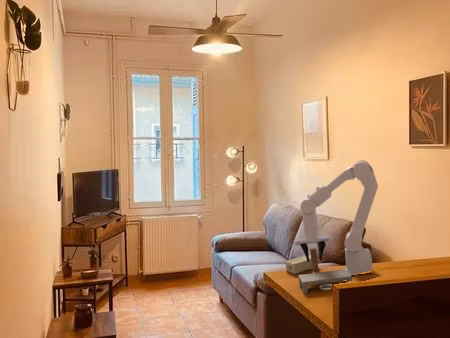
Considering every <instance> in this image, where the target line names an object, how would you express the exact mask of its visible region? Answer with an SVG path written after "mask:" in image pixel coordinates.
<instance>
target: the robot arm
mask: <svg viewBox="0 0 450 338" xmlns="http://www.w3.org/2000/svg"><path fill="white" fill-rule="evenodd" d="M355 179H357V180H358V181H360V183H361V185H362V186H363V187H364V188H363V192H362V195H361V198H360V201H359V204H358V207H357V210H356V213H355V216H354V220H353V222H352V225H351V227H350V230H349V231H348V232H347V233H346V235H345V239H344V244H343V245H344V254H345V256H344V257H345V266H346V268H345V269H346V270H347V271H348V272H349V273H350V274H351V275H353V274H359V273H362V272H367V271H371V270H373V259H372V254H371V250H370V249H369V248H364V247H363V245H362V241H363V234H364V230H365V227H366V224H367V222H368V217H369V215H370V212H371V209H372V206H373V203H374V201H375V197H376V193H377V191H378V187H379V185H378V184H379V183H378V180H377V178H376V175H375V171H374V169H373V167H372V166H371V165H370V163H369V162H368V161H367V160H361V159H360V160H358V161H356V162H355V164H352V165H350V166H348V167H347V168H346V169H344V170H342V171H341V173H339V174H338V175H337V176H336V177H335V178H334V179H333V180H331V181H330V182H329V183H328V184H327V185H321V186H317V187H316V188H315V190H314V191H313V192H312V193H311V194H308V195H307V196H306V198H304V200H303V201H302V202H301V204H300V207H299V208H300V211H301V214H302V225H303V234H304V238H299V239H293V242H294V243H293V244H294V246H295V247H297V246H300V247H301V249H302V251H303V253H304V256H306V259H307V262H310V260H309V255H310V254H309V246H308V245H309V244H317V251H318V259H319V261H323V255H324V251H325V249H326V246H327V245H326V243H327V242H330V243H331V242H332V240H331V239H332V238H331V236H330V235H324V236H321V235H320V232H319V231H320V230H319V225H318V224H319V223H318V216H317V210H316V209H317V208H319V207H320V206H322V205H323V204H324V203H326V202H327V201H328V200H329V199H330V198H331V197H332V193H333V191H335V190H336V189H337V188H339V187H340V186H341V185H342V184H344V183H346V181H350V180H355Z"/></svg>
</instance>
